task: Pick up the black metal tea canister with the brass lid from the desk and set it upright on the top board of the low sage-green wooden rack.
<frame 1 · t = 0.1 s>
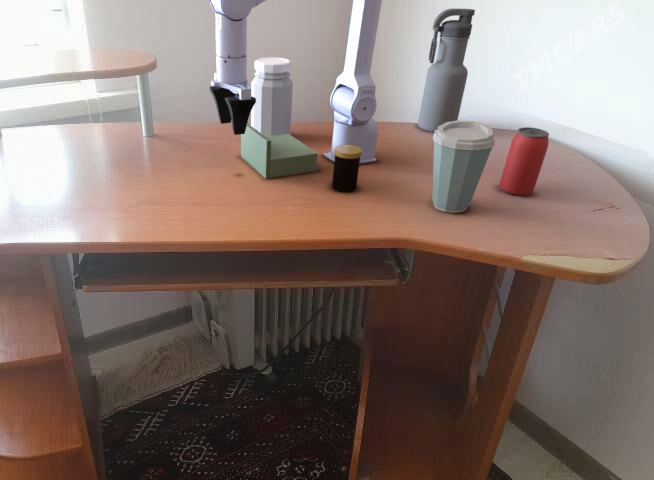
hand: (232, 128, 109), 10 cm above the table, tool pointing down, fingers open, 7 cm apart
shelf: (277, 163, 121), on the table
beer can: (515, 191, 111), on the table
water bottle: (435, 128, 145), on the table
canister: (344, 187, 111), on the table
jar: (270, 138, 136), on the table
disposable coffee cup: (447, 207, 104), on the table
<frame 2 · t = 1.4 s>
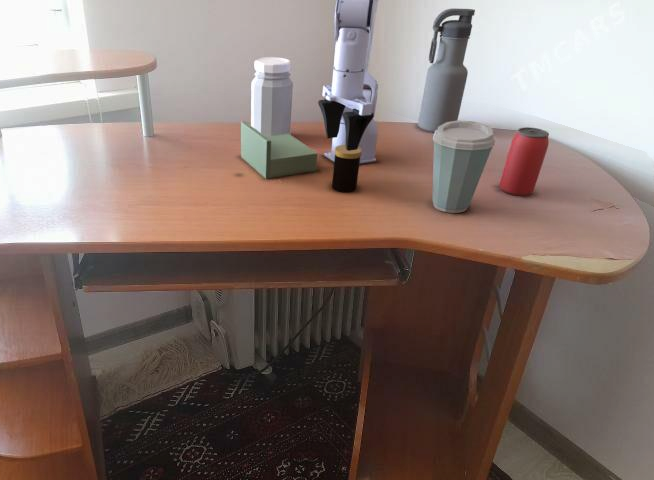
hand: (341, 143, 106), 9 cm above the table, tool pointing down, fingers open, 7 cm apart
nothing on the table moved.
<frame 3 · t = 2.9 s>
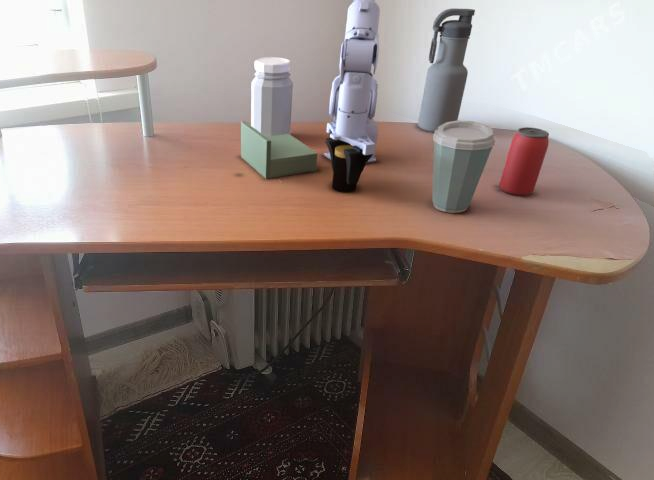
hand: (345, 178, 109), 2 cm above the table, tool pointing down, fingers closed on canister, 5 cm apart
canister: (344, 187, 111), on the table, touching gripper
everything else where it was.
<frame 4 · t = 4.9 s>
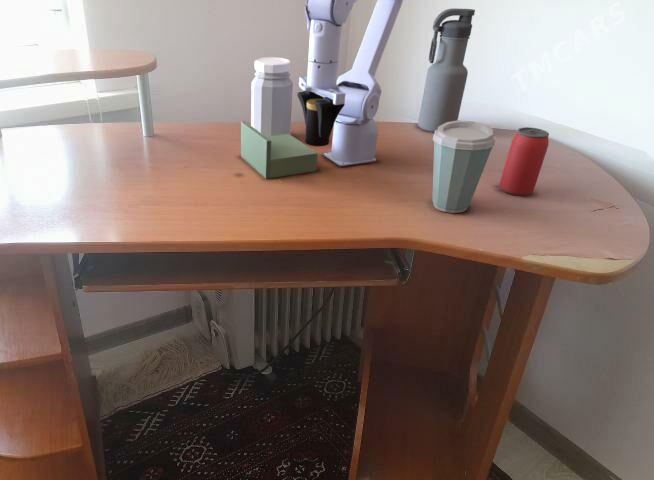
hand: (317, 132, 110), 9 cm above the table, tool pointing down, fingers closed on canister, 5 cm apart
canister: (316, 142, 111), point 7 cm above the table, touching gripper
everything else where it was.
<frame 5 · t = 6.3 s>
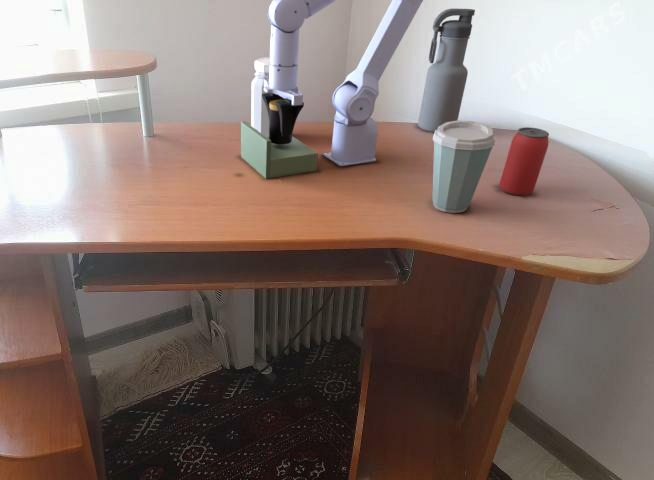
hand: (280, 131, 117), 7 cm above the table, tool pointing down, fingers closed on canister, 5 cm apart
canister: (280, 140, 118), point 5 cm above the table, touching gripper
everything else where it was.
when the fingers open (6 cm above the table, at t = 7.2 s): canister stays where it is, resting on shelf.
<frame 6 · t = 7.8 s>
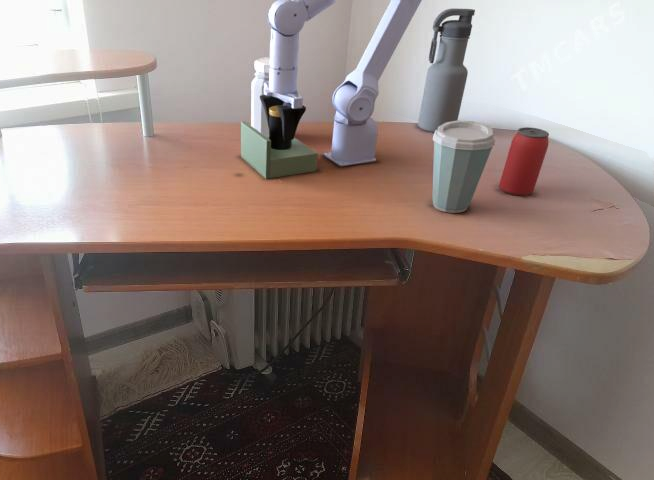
hand: (280, 134, 118), 7 cm above the table, tool pointing down, fingers open, 7 cm apart
canister: (280, 146, 119), point 4 cm above the table, touching shelf
everything else where it was.
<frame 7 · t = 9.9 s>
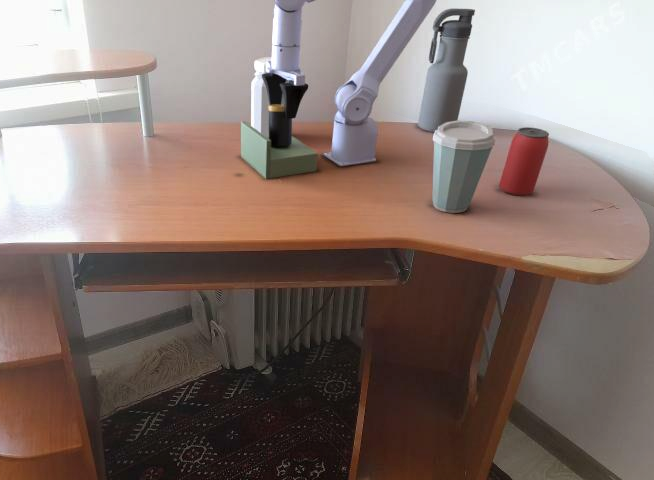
hand: (282, 113, 117), 10 cm above the table, tool pointing down, fingers open, 7 cm apart
canister: (280, 144, 119), point 4 cm above the table, tilted 10°, touching gripper, shelf
everything else where it was.
at the end: canister inside the target area on the shelf (0.1 cm from its centre), point 4.4 cm above the shelf's base; canister tilted 10°; the gripper is holding nothing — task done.
